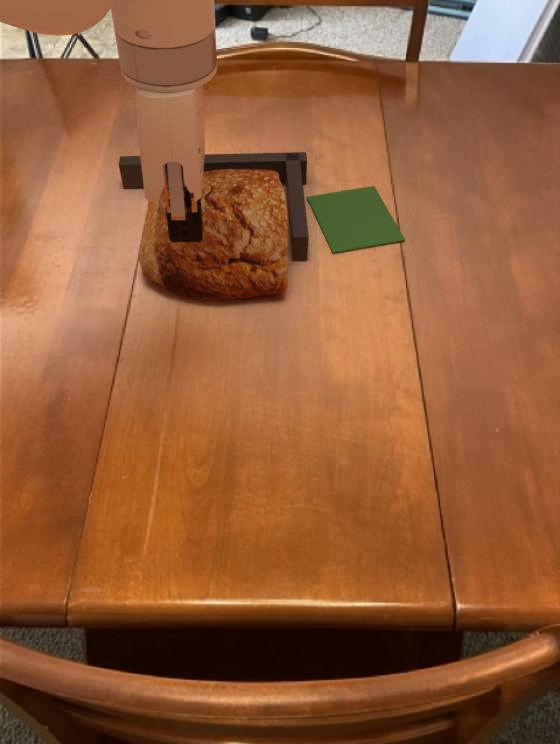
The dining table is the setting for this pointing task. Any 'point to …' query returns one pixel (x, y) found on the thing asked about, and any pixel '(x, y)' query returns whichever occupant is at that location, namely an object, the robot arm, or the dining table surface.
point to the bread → (224, 239)
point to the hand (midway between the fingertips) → (186, 236)
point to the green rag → (354, 219)
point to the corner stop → (285, 164)
